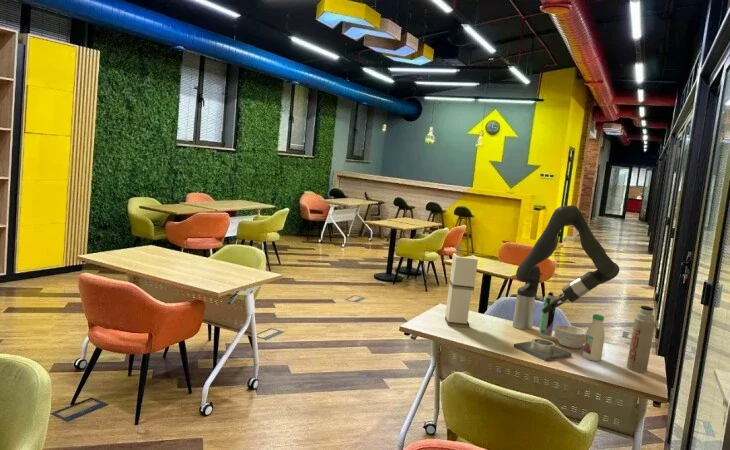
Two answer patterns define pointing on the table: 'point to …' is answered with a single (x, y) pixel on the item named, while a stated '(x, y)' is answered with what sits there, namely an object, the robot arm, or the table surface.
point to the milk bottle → (594, 339)
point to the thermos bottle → (641, 340)
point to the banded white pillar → (460, 290)
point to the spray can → (547, 317)
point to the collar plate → (542, 354)
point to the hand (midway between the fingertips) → (544, 310)
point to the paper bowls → (570, 336)
